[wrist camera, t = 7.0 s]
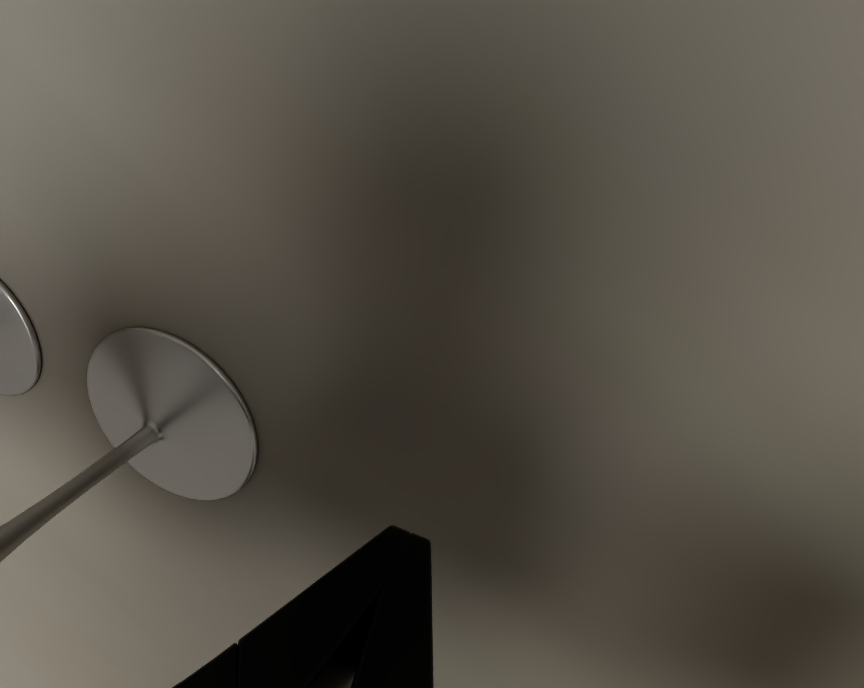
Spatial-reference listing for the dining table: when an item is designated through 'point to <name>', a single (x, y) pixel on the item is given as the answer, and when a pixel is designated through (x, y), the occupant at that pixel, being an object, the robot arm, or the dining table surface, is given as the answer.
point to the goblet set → (139, 415)
